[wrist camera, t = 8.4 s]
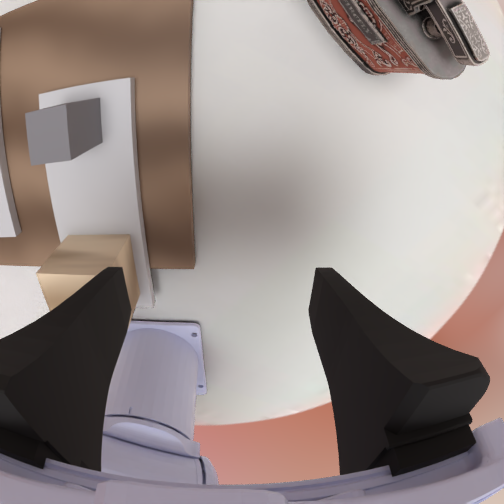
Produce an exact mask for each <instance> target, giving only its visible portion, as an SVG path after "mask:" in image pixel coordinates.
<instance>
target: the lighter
mask: <svg viewBox="0 0 504 504" xmlns="http://www.w3.org/2000/svg"><path fill="white" fill-rule="evenodd" d="M307 2H308V3H309V5H310V7H311V9H312V10H313V12H314V13H315V14H316V16H317V17H318V19H319V20H320V22H321V23H322V24H323V26H324V27H325V29H326V30H327V32H328V33H329V34H330V35H331V36H332V37H333V39H334V40H335V41H336V42H337V43H338V44H339V46H340V47H341V48H342V49H343V50H344V52H345V53H346V54H347V55H348V56H349V57H350V58H351V59H352V60H353V61H354V62H355V63H356V64H357V65H358V66H359V67H360V68H361V69H362V70H363V71H365V72H366V73H368V74H371V75H386V74H389V73H391V72H397V73H421V74H425V75H427V76H430V77H432V78H436V79H453V78H456V77H458V76H459V75H460V74H461V73H462V72H463V71H464V69H465V67H466V65H473V66H480V65H482V64H484V63H485V62H486V61H487V60H488V58H489V55H490V52H489V49H488V47H487V45H486V42H485V40H484V38H483V36H482V34H481V32H480V30H479V28H478V26H477V24H476V23H475V21H474V19H473V17H472V15H471V13H470V11H469V10H468V8H467V6H466V4H465V3H464V2H463V1H462V0H307Z"/></svg>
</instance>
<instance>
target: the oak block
mask: <svg viewBox="0 0 504 504" xmlns="http://www.w3.org/2000/svg"><path fill="white" fill-rule="evenodd" d="M107 267H122V268H123V272H124V277H125V282H126V287H127V291H128V296H129V300H130V304H131V308H132V311H131V316H130V321H129V324H130V322H131V319H132V316H133V313H134V310H135V307H136V304H137V302H138V299H139V296H140V289H139V284H138V279H137V274H136V268H135V262H134V257H133V251H132V244H131V238H130V234H109V235H68V236H67V237H66V238H65V239H64V240H63V241H62V243H61V244H60V245H59V246H58V247H57V248H56V250H55V251H54V252H53V253H52V254H51V256H50V257H49V258H48V259H47V260H46V262H45V263H44V264H43V265H42V267H41V268H40V269H39V270H38V272H37V273H36V274H37V277H38V280H39V283H40V286H41V289H42V292H43V294H44V297H45V300H46V302H47V305H48V307H49V310H50V311H51V310H53V309H54V308H56V307H57V306H58V305H59V304H61V303H62V302H63V301H65V300H66V299H67V298H69V297H70V296H71V295H73V294H74V293H75V292H76V291H78V290H79V289H80V288H81V287H82V286H84V285H85V284H86V283H87V282H89V281H90V280H91V279H92V278H93V277H95V276H96V275H97V274H99V273H100V272H101V271H102V270H104V269H105V268H107ZM128 327H129V326H128Z"/></svg>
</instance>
